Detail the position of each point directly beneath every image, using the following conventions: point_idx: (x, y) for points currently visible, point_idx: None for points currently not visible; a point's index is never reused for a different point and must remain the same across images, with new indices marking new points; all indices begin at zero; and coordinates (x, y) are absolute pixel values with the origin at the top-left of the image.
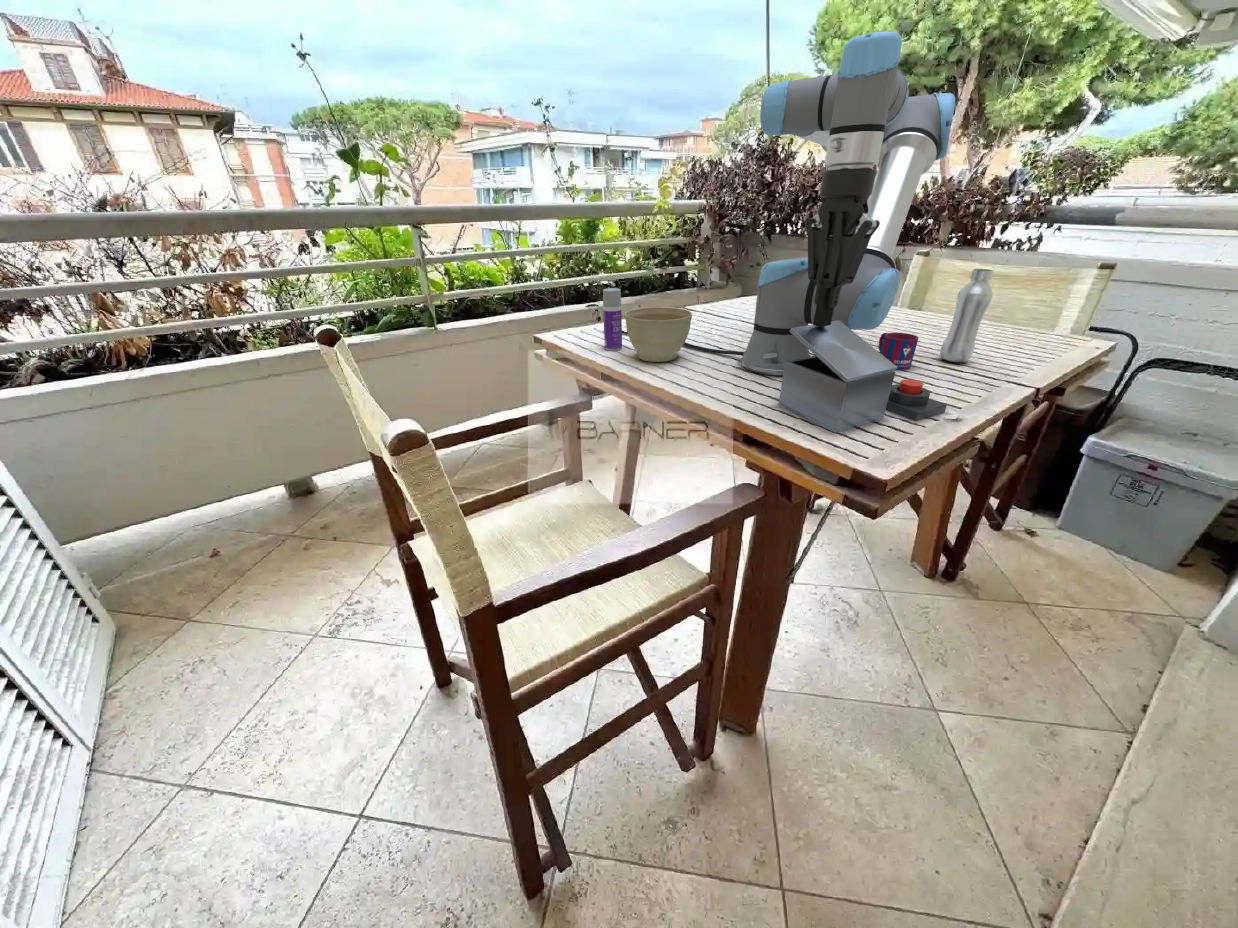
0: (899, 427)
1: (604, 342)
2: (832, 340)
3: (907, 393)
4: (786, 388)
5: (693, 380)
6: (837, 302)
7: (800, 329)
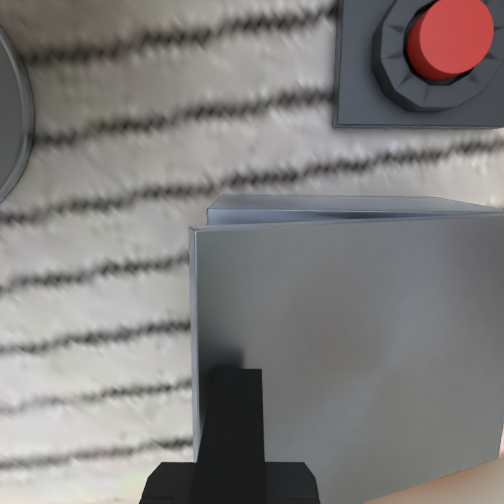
0: (486, 199)
1: None
2: (332, 394)
3: (457, 81)
4: None
5: None
6: (317, 491)
7: None
